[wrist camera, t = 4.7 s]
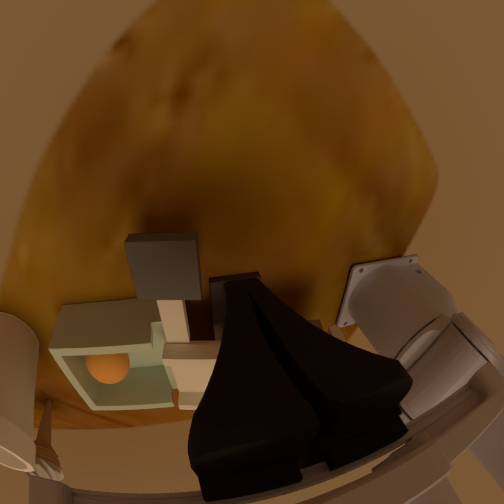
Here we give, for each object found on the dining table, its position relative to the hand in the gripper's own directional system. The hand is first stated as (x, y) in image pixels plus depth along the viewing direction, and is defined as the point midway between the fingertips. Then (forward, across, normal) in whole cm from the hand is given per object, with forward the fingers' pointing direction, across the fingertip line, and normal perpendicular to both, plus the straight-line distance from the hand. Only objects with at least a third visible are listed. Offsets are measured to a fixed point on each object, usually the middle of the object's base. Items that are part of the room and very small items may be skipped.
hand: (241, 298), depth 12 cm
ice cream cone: (+10, +24, +22) cm, 34 cm away
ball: (+7, +10, +11) cm, 16 cm away
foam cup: (+10, +22, +10) cm, 26 cm away
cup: (+9, +9, +11) cm, 17 cm away
